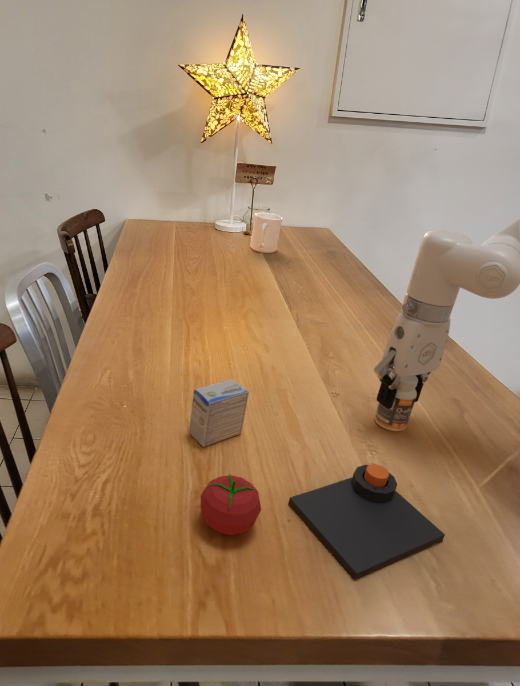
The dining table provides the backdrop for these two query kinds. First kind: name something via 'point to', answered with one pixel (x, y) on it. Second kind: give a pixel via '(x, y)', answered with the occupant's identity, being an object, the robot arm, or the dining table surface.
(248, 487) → the tomato
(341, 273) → the dining table surface
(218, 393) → the medicine box
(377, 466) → the tare button
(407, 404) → the pill bottle
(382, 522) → the scale
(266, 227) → the mug
